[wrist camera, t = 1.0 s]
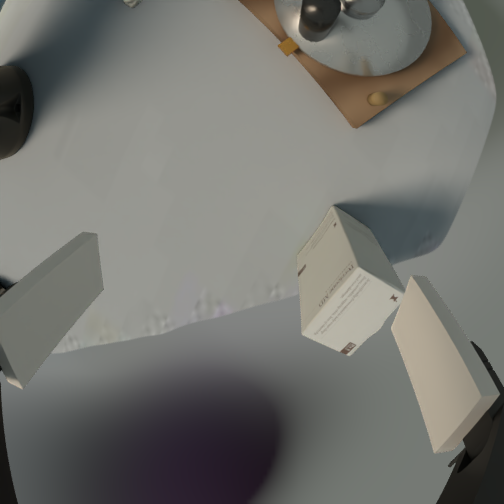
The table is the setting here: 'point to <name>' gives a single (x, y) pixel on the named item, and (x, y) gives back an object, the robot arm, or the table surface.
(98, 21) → the table surface
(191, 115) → the table surface
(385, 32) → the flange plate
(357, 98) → the walnut board
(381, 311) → the skincare box
